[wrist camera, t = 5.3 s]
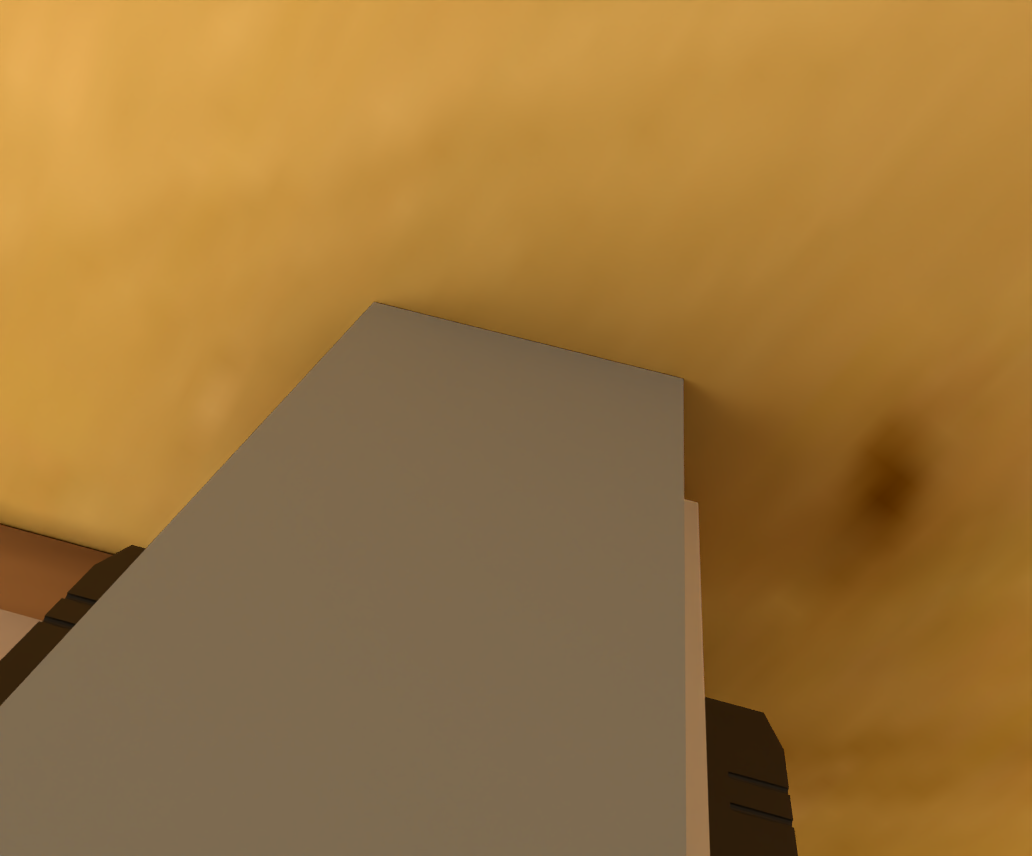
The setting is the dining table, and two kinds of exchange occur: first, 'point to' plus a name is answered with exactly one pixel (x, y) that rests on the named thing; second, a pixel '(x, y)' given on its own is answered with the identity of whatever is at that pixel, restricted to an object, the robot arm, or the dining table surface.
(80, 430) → the dining table surface
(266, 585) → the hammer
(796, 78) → the dining table surface
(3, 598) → the board
